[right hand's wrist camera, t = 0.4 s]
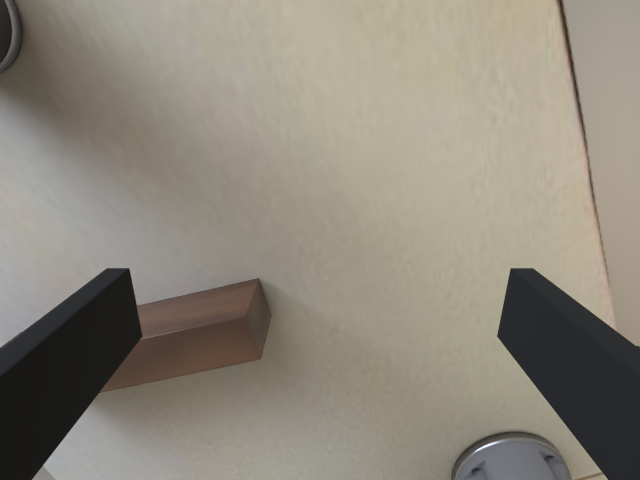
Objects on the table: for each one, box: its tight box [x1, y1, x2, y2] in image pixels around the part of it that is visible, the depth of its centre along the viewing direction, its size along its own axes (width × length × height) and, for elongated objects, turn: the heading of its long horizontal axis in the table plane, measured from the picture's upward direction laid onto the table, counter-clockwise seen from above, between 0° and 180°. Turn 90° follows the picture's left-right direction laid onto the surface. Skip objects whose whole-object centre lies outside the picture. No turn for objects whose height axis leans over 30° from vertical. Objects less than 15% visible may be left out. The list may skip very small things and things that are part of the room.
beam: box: [1, 278, 271, 393], centre depth 39 cm, size 5×30×8 cm, turn 104°
